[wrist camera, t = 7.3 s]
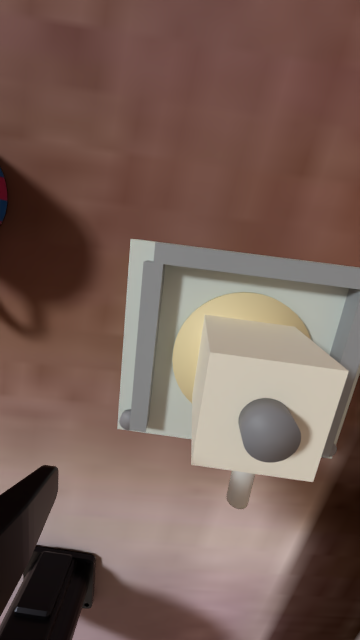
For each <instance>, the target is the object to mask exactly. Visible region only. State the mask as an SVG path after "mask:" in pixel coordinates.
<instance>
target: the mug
mask: <svg viewBox="0 0 360 640" xmlns="http://www.w3.org/2000/svg"><path fill="white" fill-rule="evenodd" d="M6 208H7V188H6V182H5V179H4V175H3V173H2V170H1V168H0V225H1V223H2V221H3V219H4V216H5V213H6Z"/></svg>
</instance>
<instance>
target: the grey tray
mask: <svg viewBox="0 0 360 640" xmlns="http://www.w3.org/2000/svg"><path fill="white" fill-rule="evenodd" d="M205 315H212V316H220V317H227V318H234V319H242V320H249V321H257V322H264V323H272V324H279V325H286V326H294V327H296V328H297V329H298V330H300V331H301V332H302V333H303V334H304V335H306V336H307V337H308V338H309V339H310V340H312V341H313V342H314V343H315V344H316V345H318V346H319V347H320V348H321V349H323V350H324V351H325V352H326V353H327V354H329V355H330V356H331V357H332V358H333V359H335V360H336V361H337V362H338V363H340V364H341V365H342V366H343V367H344V368H346V369H347V370H348V371H349V372H348V375H347V378H346V381H345V385H344V388H343V391H342V394H341V397H340V400H339V403H338V406H337V409H336V412H335V416H334V419H333V422H332V425H331V428H330V431H329V434H328V437H327V440H326V443H325V447H324V450H323V453H322V456H321V457H323V458H330V459H332V456H333V455H334V454H335V453H336V451H337V447H336V443H337V440H338V437H339V434H340V431H341V428H342V425H343V422H344V419H345V416H346V413H347V410H348V407H349V404H350V401H351V398H352V395H353V392H354V389H355V386H356V383H357V380H358V377H359V374H360V268H358V267H350V266H342V265H335V264H327V263H319V262H311V261H303V260H295V259H288V258H280V257H272V256H264V255H256V254H248V253H240V252H233V251H225V250H217V249H209V248H201V247H193V246H185V245H178V244H170V243H162V242H154V241H146V240H137V239H131V242H130V256H129V270H128V285H127V299H126V313H125V327H124V341H123V356H122V370H121V384H120V398H119V412H118V427H117V429H123V430H130V431H137V432H144V433H151V434H158V435H166V436H173V437H180V438H187V439H192V393H193V387H194V380H195V374H196V367H197V361H198V354H199V348H200V341H201V335H202V329H203V322H204V316H205Z"/></svg>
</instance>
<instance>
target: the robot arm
mask: <svg viewBox="0 0 360 640" xmlns="http://www.w3.org/2000/svg"><path fill="white" fill-rule="evenodd" d="M57 492H58V468H57V467H55V466H48V465H43V466H41V467H40V468H38V469H37V470H35V471H34V472H33V473H31V474H30V475H28V476H27V477H25V478H24V479H23V480H21V481H20V482H18V483H17V484H15V485H14V486H13V487H11V488H10V489H8V490H7V491H5V492H4V493H3V494H1V495H0V616H1V614H2V612H3V610H4V608H5V607H6V605H7V603H8V601H9V599H10V597H11V595H12V593H13V591H14V589H15V588H16V586H17V584H18V582H19V580H20V578H21V576H22V574H23V576H24V580H23V582H22V584H21V586H20V588H19V590H18V592H17V594H16V596H15V598H14V600H13V601H12V603H11V605H10V607H9V609H8V611H7V613H6V615H5V617H4V619H3V621H2V623H1V625H0V640H72V638H73V635H74V632H75V628H76V625H77V622H78V619H79V616H80V612H81V609H82V608H91V606H92V603H93V596H94V577H95V557H94V556H93V555H90V554H83V553H76V552H70V551H63V550H56V549H49V548H43V547H36V544H37V542H38V539H39V537H40V535H41V532H42V530H43V527H44V525H45V523H46V520H47V518H48V516H49V513H50V511H51V508H52V506H53V504H54V501H55V499H56V496H57Z"/></svg>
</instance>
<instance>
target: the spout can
mask: <svg viewBox="0 0 360 640" xmlns="http://www.w3.org/2000/svg"><path fill="white" fill-rule="evenodd" d="M348 372H349V371H348V370H347V369H346V368H344V367H343V366H342V365H341V364H340V363H338V362H337V361H336V360H335V359H333V358H332V357H331V356H330V355H329V354H327V353H326V352H325V351H324V350H323V349H321V348H320V347H319V346H318V345H316V344H315V343H314V342H313V341H312V340H310V339H309V338H308V337H307V336H306V335H304V334H303V333H302V332H301V331H300V330H298V329H297V328H296V327H294V326H286V325H279V324H272V323H264V322H257V321H249V320H242V319H234V318H227V317H220V316H212V315H205V316H204V322H203V329H202V335H201V341H200V348H199V354H198V361H197V367H196V374H195V380H194V387H193V393H192V448H191V465H197V466H204V467H211V468H218V469H225V470H232V473H231V477H230V482H229V487H228V491H227V501H228V502H229V504H230V505H231V506H233V507H234V508H237V509H244V508H246V507H247V505H248V501H249V497H250V493H251V489H252V485H253V481H254V477H255V474H259V475H266V476H273V477H280V478H287V479H294V480H301V481H308V482H313V481H314V478H315V475H316V471H317V468H318V465H319V462H320V459H321V456H322V453H323V450H324V447H325V443H326V440H327V437H328V434H329V431H330V428H331V425H332V422H333V419H334V416H335V412H336V409H337V406H338V403H339V400H340V397H341V394H342V391H343V388H344V385H345V381H346V378H347V375H348Z"/></svg>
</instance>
